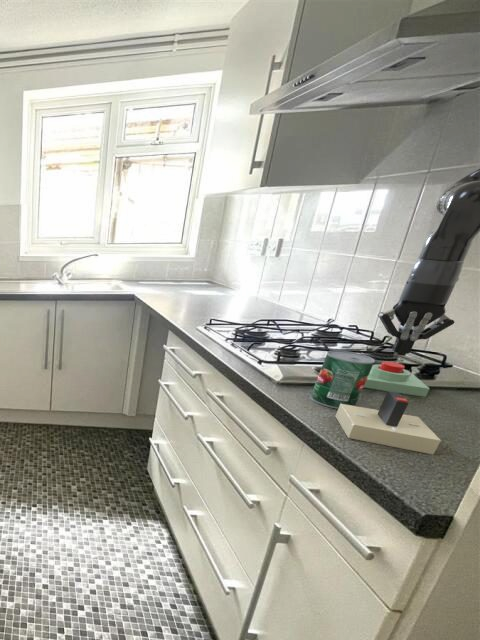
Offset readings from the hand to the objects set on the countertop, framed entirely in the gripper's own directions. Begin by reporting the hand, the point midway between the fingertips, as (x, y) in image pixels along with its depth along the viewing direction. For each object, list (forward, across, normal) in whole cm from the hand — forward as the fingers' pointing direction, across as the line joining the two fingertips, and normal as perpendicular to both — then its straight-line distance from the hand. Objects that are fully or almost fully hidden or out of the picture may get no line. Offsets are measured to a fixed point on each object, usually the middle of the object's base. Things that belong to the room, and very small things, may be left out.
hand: (399, 354), depth 99 cm
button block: (+8, 0, -1) cm, 8 cm away
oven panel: (+8, +10, +31) cm, 34 cm away
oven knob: (+5, +9, +31) cm, 33 cm away
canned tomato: (+8, +14, +18) cm, 24 cm away
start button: (+4, 0, -1) cm, 5 cm away
